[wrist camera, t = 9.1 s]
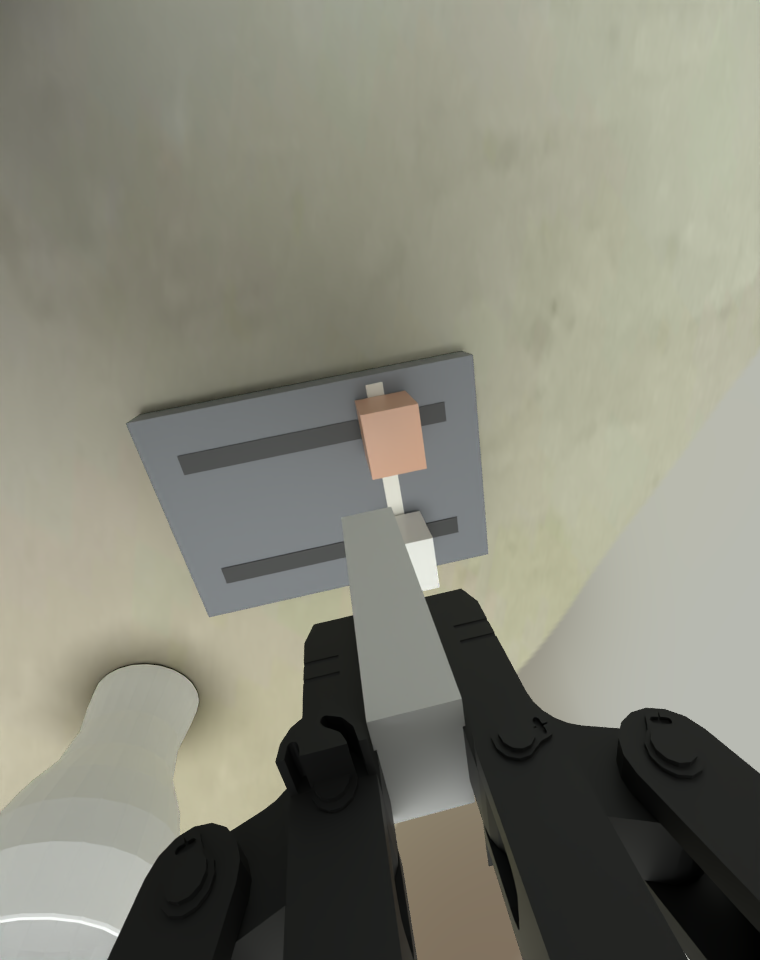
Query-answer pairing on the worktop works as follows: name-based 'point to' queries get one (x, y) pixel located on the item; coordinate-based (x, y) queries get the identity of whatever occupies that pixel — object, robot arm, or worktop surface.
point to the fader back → (419, 548)
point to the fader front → (391, 434)
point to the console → (309, 479)
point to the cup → (94, 820)
